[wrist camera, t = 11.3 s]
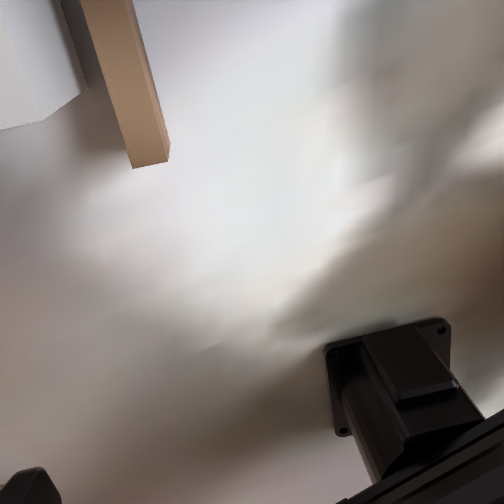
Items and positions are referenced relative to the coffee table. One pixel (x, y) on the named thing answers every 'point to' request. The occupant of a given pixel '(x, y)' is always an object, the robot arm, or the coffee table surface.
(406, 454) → the robot arm
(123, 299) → the coffee table surface
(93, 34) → the lane rack
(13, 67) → the light grey block
